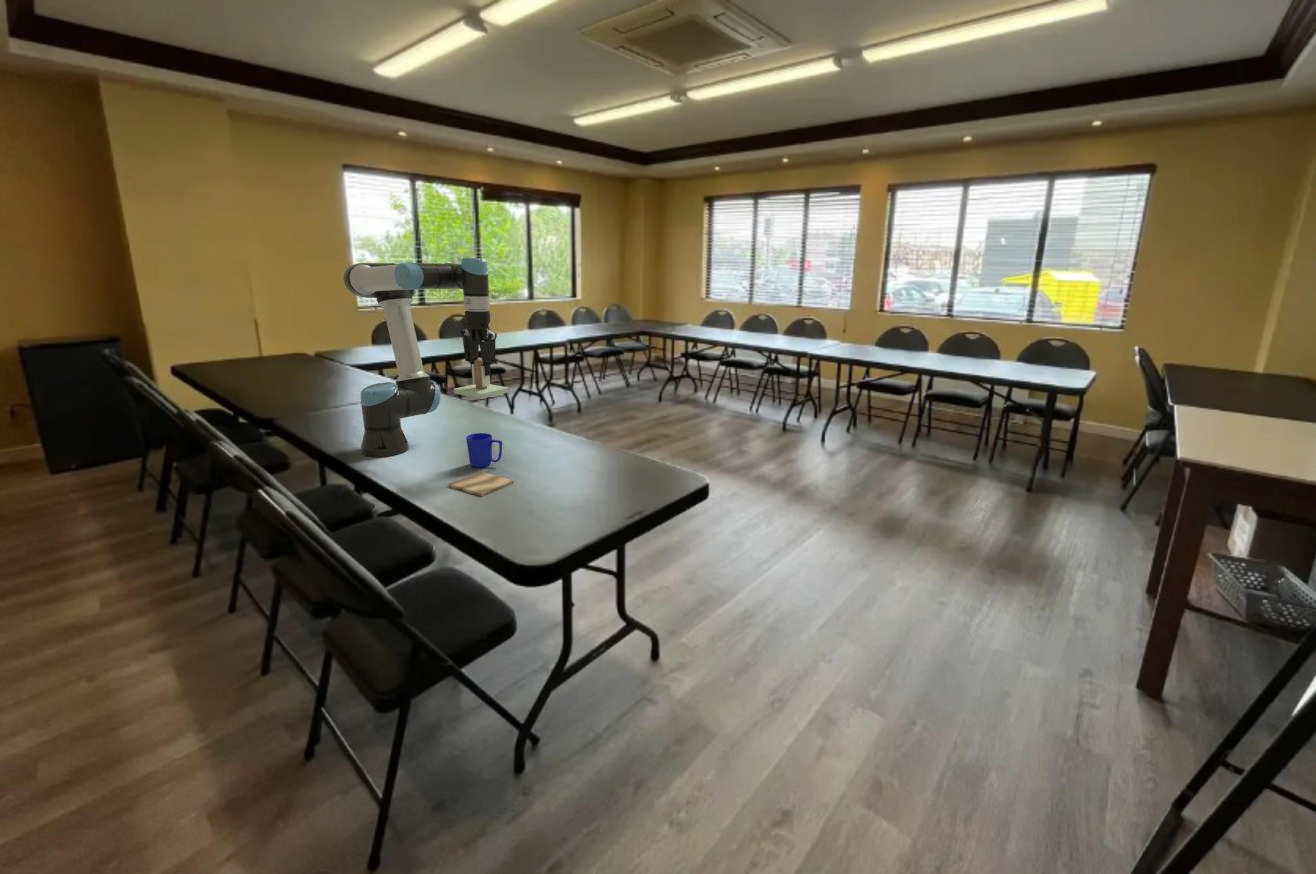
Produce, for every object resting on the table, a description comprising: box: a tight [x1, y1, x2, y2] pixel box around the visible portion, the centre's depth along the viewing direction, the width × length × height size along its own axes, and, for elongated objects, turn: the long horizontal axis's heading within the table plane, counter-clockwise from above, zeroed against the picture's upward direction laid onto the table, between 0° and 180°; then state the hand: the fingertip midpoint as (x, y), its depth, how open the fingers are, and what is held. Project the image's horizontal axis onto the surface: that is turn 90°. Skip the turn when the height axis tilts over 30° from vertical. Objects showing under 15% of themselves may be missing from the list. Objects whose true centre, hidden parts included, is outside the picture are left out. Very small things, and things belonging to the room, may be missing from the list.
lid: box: [453, 358, 510, 399], centre depth 183 cm, size 12×12×10 cm
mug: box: [465, 432, 503, 468], centre depth 190 cm, size 8×12×10 cm
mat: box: [448, 471, 515, 497], centre depth 175 cm, size 14×13×1 cm
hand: (481, 384), depth 183 cm, fingers closed on lid, 3 cm apart
